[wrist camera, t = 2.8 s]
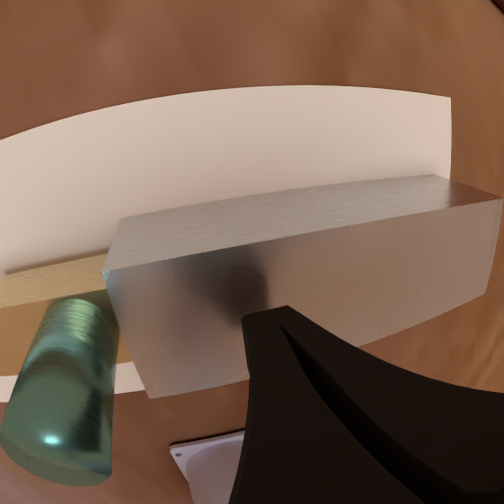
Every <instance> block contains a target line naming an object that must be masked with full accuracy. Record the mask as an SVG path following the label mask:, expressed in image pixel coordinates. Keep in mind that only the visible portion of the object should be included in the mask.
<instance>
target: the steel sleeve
mask: <svg viewBox="0 0 504 504" xmlns="http://www.w3.org/2000/svg"><path fill="white" fill-rule="evenodd" d="M503 199H504V198H501V197H498V196H496V195H493V194H491V193H488V192H485V191H482V190H480V189H477V188H474V187H471V186H468V185H465V184H462V183H459V182H456V181H453V180H450V179H447V178H444V177H441V176H437V175H434V174H432V175H419V176H407V177H396V178H385V179H375V180H365V181H356V182H347V183H338V184H329V185H321V186H313V187H305V188H298V189H290V190H283V191H276V192H269V193H262V194H255V195H249V196H242V197H236V198H229V199H223V200H217V201H211V202H205V203H199V204H194V205H188V206H182V207H177V208H171V209H166V210H161V211H155V212H150V213H145V214H140V215H135V216H130V217H125V218H121V220H120V223H119V225H118V228H117V231H116V233H115V236H114V238H113V241H112V244H111V246H110V249H109V252H108V255H107V257H106V260H105V263H104V266H103V269H102V276H103V279H104V282H105V285H106V288H107V291H108V295H109V298H110V301H111V304H112V307H113V309H114V312H115V315H116V318H117V321H118V324H119V326H120V329H121V332H122V334H123V337H124V340H125V342H126V345H127V347H128V350H129V353H130V355H131V358H132V360H133V362H134V365H135V367H136V370H137V372H138V374H139V377H140V379H141V381H142V384H143V386H144V388H145V390H146V393H147V395H148V397H149V399H153V398H160V397H166V396H171V395H177V394H183V393H188V392H193V391H198V390H203V389H208V388H213V387H217V386H222V385H226V384H231V383H235V382H239V381H244V380H248V379H250V375H249V371H248V368H247V361H246V354H245V347H244V339H243V331H242V324H241V319H242V317H243V316H244V315H246V314H251V313H255V312H260V311H264V310H268V309H273V308H277V307H281V306H285V305H288V306H290V307H292V308H293V309H295V310H296V311H298V312H299V313H301V314H302V315H304V316H305V317H307V318H308V319H310V320H312V321H313V322H315V323H316V324H318V325H319V326H321V327H323V328H324V329H326V330H327V331H329V332H331V333H332V334H334V335H336V336H337V337H339V338H341V339H342V340H344V341H346V342H348V343H350V344H351V345H353V346H355V347H359V346H362V345H365V344H367V343H370V342H373V341H376V340H378V339H381V338H384V337H386V336H389V335H392V334H394V333H397V332H399V331H402V330H404V329H407V328H409V327H412V326H414V325H417V324H419V323H421V322H424V321H426V320H428V319H431V318H433V317H435V316H438V315H440V314H442V313H444V312H447V311H449V310H451V309H453V308H455V307H458V306H460V305H462V304H464V303H466V302H468V301H470V300H472V299H474V298H476V297H478V296H481V295H483V294H485V291H486V287H487V283H488V279H489V275H490V271H491V267H492V262H493V258H494V253H495V248H496V243H497V238H498V233H499V227H500V221H501V214H502V207H503Z"/></svg>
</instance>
